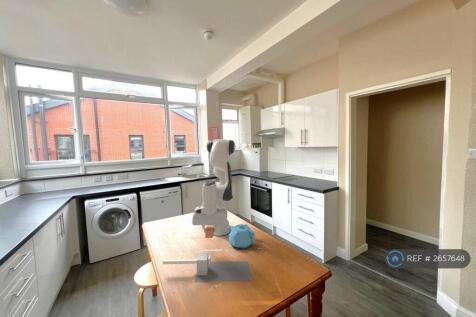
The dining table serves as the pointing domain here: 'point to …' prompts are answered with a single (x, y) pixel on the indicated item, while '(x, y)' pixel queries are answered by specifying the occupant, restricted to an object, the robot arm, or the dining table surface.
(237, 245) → the decorative pot
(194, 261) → the bar
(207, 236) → the salmon orange rectangular block
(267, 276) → the dining table surface
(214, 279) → the board
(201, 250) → the white mat
